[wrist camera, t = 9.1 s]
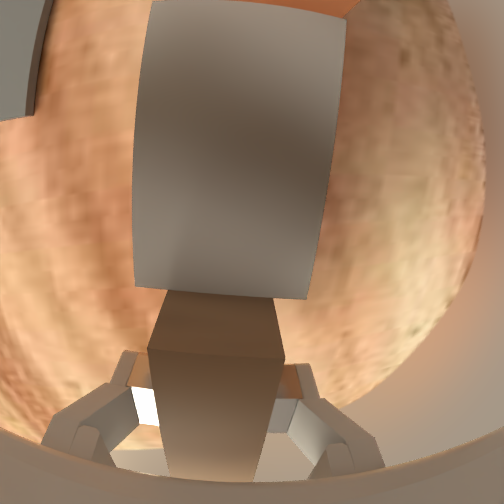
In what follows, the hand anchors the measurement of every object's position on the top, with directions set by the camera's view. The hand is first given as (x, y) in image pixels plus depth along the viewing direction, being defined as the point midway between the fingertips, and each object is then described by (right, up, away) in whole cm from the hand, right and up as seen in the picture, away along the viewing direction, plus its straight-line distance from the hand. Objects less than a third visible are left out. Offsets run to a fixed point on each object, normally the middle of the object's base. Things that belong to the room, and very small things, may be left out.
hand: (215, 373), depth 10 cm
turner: (0, +3, 0) cm, 3 cm away
